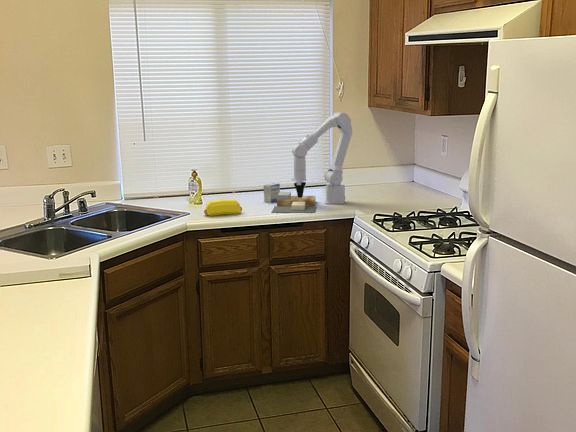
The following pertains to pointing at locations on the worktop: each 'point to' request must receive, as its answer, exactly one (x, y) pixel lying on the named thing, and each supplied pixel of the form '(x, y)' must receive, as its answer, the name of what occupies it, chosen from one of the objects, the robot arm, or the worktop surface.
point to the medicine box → (271, 192)
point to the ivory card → (298, 205)
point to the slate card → (284, 195)
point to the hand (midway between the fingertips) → (300, 197)
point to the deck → (308, 199)
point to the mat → (288, 210)
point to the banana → (222, 207)
